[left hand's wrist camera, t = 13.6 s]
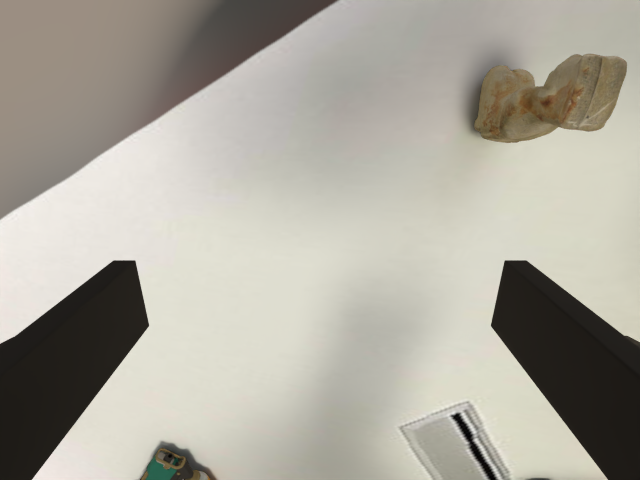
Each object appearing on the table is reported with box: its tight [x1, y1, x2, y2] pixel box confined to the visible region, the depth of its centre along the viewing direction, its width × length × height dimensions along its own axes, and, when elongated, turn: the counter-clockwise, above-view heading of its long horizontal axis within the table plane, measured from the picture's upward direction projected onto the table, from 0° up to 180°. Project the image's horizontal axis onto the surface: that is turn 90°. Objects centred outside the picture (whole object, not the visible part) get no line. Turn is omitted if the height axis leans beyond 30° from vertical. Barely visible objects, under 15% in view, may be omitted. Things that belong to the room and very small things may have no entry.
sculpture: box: [474, 54, 627, 143], centre depth 31 cm, size 6×7×15 cm
